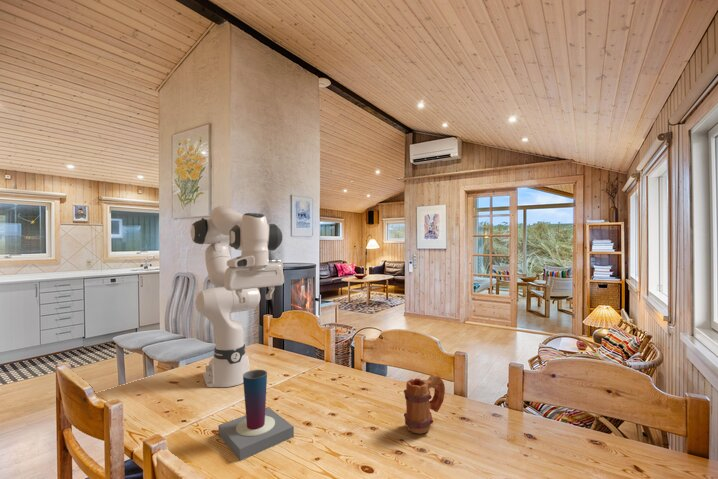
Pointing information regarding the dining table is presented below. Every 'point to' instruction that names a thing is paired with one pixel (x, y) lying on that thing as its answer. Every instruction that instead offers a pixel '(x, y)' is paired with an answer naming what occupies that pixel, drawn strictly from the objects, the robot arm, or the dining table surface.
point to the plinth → (255, 434)
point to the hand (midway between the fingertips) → (255, 301)
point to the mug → (422, 402)
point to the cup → (255, 397)
